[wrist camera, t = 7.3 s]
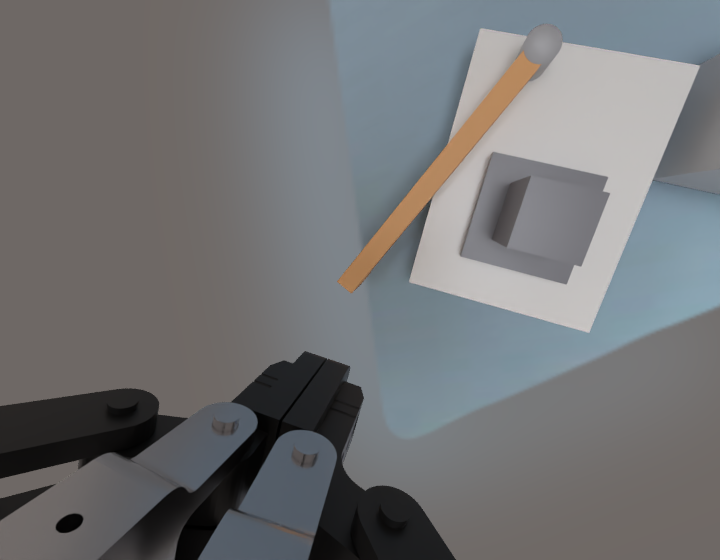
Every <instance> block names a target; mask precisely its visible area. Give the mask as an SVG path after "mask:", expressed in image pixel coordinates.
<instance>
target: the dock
mask: <svg viewBox="0 0 720 560" xmlns="http://www.w3.org/2000/svg"><path fill="white" fill-rule="evenodd" d="M653 180H654V181H659V182H664V183H668V184H673V185H677V186H682V187H687V188H691V189H696V190H700V191H705V192H710V193H714V194H719V195H720V54H718V55H716V56H715V57H713V58H711V59H709V60H707V61H706V62H704V63H702V64H700V67H699V70H698V72H697V74H696V77H695V79H694V82H693V84H692V86H691V89H690V91H689V94H688V96H687V98H686V101H685V103H684V106H683V108H682V111H681V113H680V115H679V118H678V120H677V123H676V125H675V127H674V130H673V132H672V135H671V137H670V139H669V142H668V144H667V147H666V149H665V151H664V154H663V156H662V159H661V161H660V163H659V166H658V168H657V171H656V173H655V175H654V178H653Z"/></svg>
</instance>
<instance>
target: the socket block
mask: <svg viewBox="0 0 720 560" xmlns="http://www.w3.org/2000/svg"><path fill="white" fill-rule="evenodd" d="M526 38H527V36H523V35H518V34H512V33H506V32H500V31H494V30H488V29H482V28H480V31H479V35H478V38H477V42H476V45H475V49H474V52H473V56H472V59H471V63H470V67H469V70H468V74H467V77H466V81H465V84H464V88H463V91H462V95H461V99H460V102H459V106H458V109H457V113H456V116H455V120H454V123H453V127H452V130H451V134H450V138H449V141H448V143H449V142H450V141H451V139H452V138H453V137H454V136H455V135H456V133H457V132H458V131H459V130H460V128H461V127H462V126H463V125H464V123H465V122H466V121H467V120H468V118H469V117H470V116H471V115H472V113H473V112H474V111H475V110H476V108H477V107H478V106H479V105H480V103H481V102H482V101H483V100H484V98H485V97H486V96H487V95H488V94H489V92H490V91H491V90H492V89H493V87H494V86H495V85H496V84H497V82H498V81H499V80H500V79H501V77H502V76H503V75H504V74H505V72H506V71H507V70H508V69H509V67H510V66H511V65H512V64H513V62H514V61H515V59H516V57H517V55H518V53H519V51H520V49H521V47H522V45H523V43H524V41H525V40H526ZM699 67H700V65H694V64H688V63H682V62H676V61H670V60H664V59H658V58H653V57H647V56H641V55H635V54H629V53H623V52H617V51H611V50H606V49H600V48H594V47H588V46H582V45H576V44H570V43H564V42H562V47H561V49H560V51H559V53H558V54H557V55H556V57H555V58H554V59H553V61H552V62H551V63H550V64H549V66H548V67H547V68H546V70H545V71H544V72H543V74H542V75H541V76H540V77H538V78H537V79H535V80H533V81H528V83H527V84H526V85H525V86H524V87H523V89H522V90H521V91H520V92H519V93H518V95H517V96H516V97H515V98H514V99H513V101H512V102H511V103H510V104H509V106H508V107H507V108H506V109H505V110H504V112H503V113H502V114H501V115H500V116H499V118H498V119H497V120H496V121H495V122H494V124H493V125H492V126H491V127H490V128H489V130H488V131H487V132H486V133H485V134H484V136H483V137H482V138H481V139H480V140H479V142H478V143H477V144H476V145H475V146H474V148H473V149H472V150H471V151H470V152H469V154H468V155H467V156H466V157H465V158H464V160H463V161H462V162H461V163H460V165H459V166H458V167H457V168H456V169H455V171H454V172H453V173H452V174H451V175H450V177H449V178H448V179H447V180H446V181H445V183H444V184H443V185H442V186H441V187H440V189H439V190H438V191H437V192H436V193H435V195H434V196H433V198H432V201H431V205H430V209H429V212H428V216H427V219H426V223H425V226H424V230H423V233H422V237H421V240H420V244H419V248H418V251H417V255H416V258H415V262H414V265H413V269H412V272H411V276H410V280H409V282H410V283H414V284H417V285H421V286H425V287H428V288H432V289H435V290H439V291H442V292H446V293H449V294H453V295H456V296H460V297H464V298H467V299H471V300H474V301H478V302H481V303H485V304H488V305H492V306H496V307H499V308H503V309H506V310H510V311H513V312H517V313H520V314H524V315H527V316H531V317H535V318H538V319H542V320H545V321H549V322H552V323H556V324H559V325H563V326H566V327H570V328H574V329H577V330H581V331H584V332H588V333H589V332H590V329H591V327H592V325H593V322H594V320H595V317H596V315H597V313H598V310H599V308H600V305H601V303H602V301H603V298H604V296H605V293H606V291H607V288H608V286H609V284H610V281H611V279H612V276H613V274H614V272H615V269H616V267H617V264H618V262H619V260H620V257H621V255H622V252H623V250H624V248H625V245H626V243H627V240H628V238H629V236H630V233H631V231H632V228H633V226H634V224H635V221H636V219H637V216H638V214H639V212H640V209H641V207H642V204H643V202H644V199H645V197H646V195H647V192H648V190H649V187H650V185H651V183H652V180H653V178H654V175H655V173H656V171H657V168H658V166H659V163H660V161H661V159H662V156H663V154H664V151H665V149H666V147H667V144H668V142H669V139H670V137H671V135H672V132H673V130H674V127H675V125H676V123H677V120H678V118H679V115H680V113H681V111H682V108H683V106H684V103H685V101H686V98H687V96H688V94H689V91H690V89H691V86H692V84H693V82H694V79H695V77H696V74H697V72H698V70H699ZM493 152H497V153H501V154H506V155H511V156H515V157H520V158H524V159H529V160H533V161H538V162H542V163H547V164H552V165H556V166H561V167H565V168H570V169H574V170H579V171H583V172H588V173H593V174H597V175H602V176H606V177H608V179H607V182H606V185H605V187H604V190H603V192H608V193H610V195H609V198H608V200H607V203H606V205H605V208H604V210H603V213H602V216H601V218H600V221H599V223H598V226H597V228H596V231H595V233H594V236H593V238H592V241H591V244H590V246H589V249H588V251H587V254H586V256H585V259H584V261H583V264H582V266H581V267H580V266H576V265H574V267H573V270H572V272H571V275H570V277H569V280H568V283H567V285H566V284H562V283H558V282H555V281H551V280H547V279H543V278H540V277H536V276H532V275H528V274H525V273H521V272H517V271H513V270H509V269H506V268H502V267H498V266H494V265H491V264H487V263H483V262H479V261H476V260H472V259H468V258H464V257H461V256H460V253H461V250H462V246H463V243H464V240H465V237H466V233H467V230H468V227H469V224H470V221H471V217H472V214H473V211H474V208H475V204H476V201H477V198H478V195H479V192H480V188H481V185H482V182H483V179H484V175H485V172H486V169H487V166H488V163H489V159H490V156H491V154H492V153H493Z"/></svg>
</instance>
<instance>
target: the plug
mask: <svg viewBox="0 0 720 560" xmlns="http://www.w3.org/2000/svg"><path fill="white" fill-rule="evenodd" d="M607 179H608V177H606V176H602V175H597V174H593V173H588V172H583V171H579V170H574V169H570V168H565V167H561V166H556V165H552V164H547V163H542V162H538V161H533V160H529V159H524V158H520V157H515V156H511V155H506V154H501V153H497V152H493V153H492V154H491V156H490V159H489V163H488V166H487V169H486V172H485V175H484V179H483V182H482V185H481V188H480V192H479V195H478V198H477V201H476V204H475V208H474V211H473V214H472V217H471V221H470V224H469V227H468V230H467V233H466V237H465V240H464V243H463V246H462V250H461V253H460V256H461V257H464V258H468V259H472V260H476V261H479V262H483V263H487V264H491V265H494V266H498V267H502V268H506V269H509V270H513V271H517V272H521V273H525V274H528V275H532V276H536V277H540V278H543V279H547V280H551V281H555V282H558V283H562V284H566V285H567V283H568V280H569V277H570V275H571V272H572V270H573V267H574V265H576V266H580V267H581V266H582V264H583V261H584V259H585V256H586V254H587V251H588V249H589V246H590V244H591V241H592V238H593V236H594V233H595V231H596V228H597V226H598V223H599V221H600V218H601V216H602V213H603V210H604V208H605V205H606V203H607V200H608V198H609V195H610V193H608V192H603V190H604V187H605V185H606V182H607Z"/></svg>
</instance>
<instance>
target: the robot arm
mask: <svg viewBox="0 0 720 560" xmlns="http://www.w3.org/2000/svg"><path fill="white" fill-rule="evenodd" d="M349 371H350V366H347V365H345V364H342V363H339V362H336V361H333V360H330V359H328V360H327V358H324V357H321V356H318V355H315V354H312V353H309V352H306V351H305V352H304V353H303V354H302V355H301V356H300V357H299V358H298V359H297V360H296V361H295V362H294V363H290V362H287V361H281V362H279V363H276V364H273V365H270V366H269V367H268V368H267V369H266V370H265V371H264V372H263V373H262V375H260V376H259V377H257V378H256V379H255V381H254V382H252V383H251V384H250V385H249V386H248V387H247V388H246V389H245V390H244V391H242V392H241V393H240V394H239V395H238V396H237V397H236V398H235V399H234V400H233V401H232V402H220V403H214V404H211V405H208V406H205V407H204V408H202V409H200V410H199V411H198V412H196V413H195V414H193V415H192V416H191V417H189V418H180V417H172V416H165V415H158V409H159V401H158V399H157V398H156V397H155V396H154V395H153V394H151V393H149V392H147V391H144V390H139V389H116V390H109V391H103V392H95V393H89V394H82V395H75V396H68V397H62V398H54V399H47V400H40V401H33V402H26V403H20V404H12V405H6V406H0V478H5V477H9V476H13V475H17V474H21V473H26V472H30V471H34V470H38V469H42V468H47V467H51V466H55V465H59V464H63V463H68V462H72V461H76V460H79V463H78V470H77V471H76V472H74V473H73V474H71V475H70V476H68V477H67V478H65V479H63V480H62V481H61V482H59V483H57V484H54V485H50V486H47V487H43V488H39V489H36V490H31V491H28V492H24V493H20V494H16V495H12V496H9V497H5V498H0V560H456V559H455V558H454V556H453V555H452V553H451V552H450V550H449V549H448V547H447V546H446V544H445V543H444V541H443V540H442V538H441V537H440V535H439V534H438V532H437V531H436V529H435V528H434V526H433V525H432V523H431V522H430V520H429V518H428V517H427V516H426V514H425V512H424V511H423V509H422V508H421V507H420V506H419V504H418V503H417V502H416V501H415V500H414V499H413V498H412V497H411V496H409V495H408V494H406V493H405V492H403V491H401V490H399V489H397V488H393V487H390V486H375V487H372V488H369V489H367V490H366V491H365V490H363V489H362V488H360V487H359V486H358V485H357V484H355V483H354V482H353V481H352V480H351V479H350V478H349V476H348V475H347V474H346V472H345V470H344V468H343V465H342V464H343V462H344V459H345V457H346V454H347V451H348V448H349V446H350V443H351V441H352V437H353V434H354V430H355V427H356V423H357V420H358V416H359V412H360V409H361V405H362V402H363V399H364V397H363V393H362V390H361V387H359V386H356V385H353V384H351V383H348V382H347V379H348V375H349Z"/></svg>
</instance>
